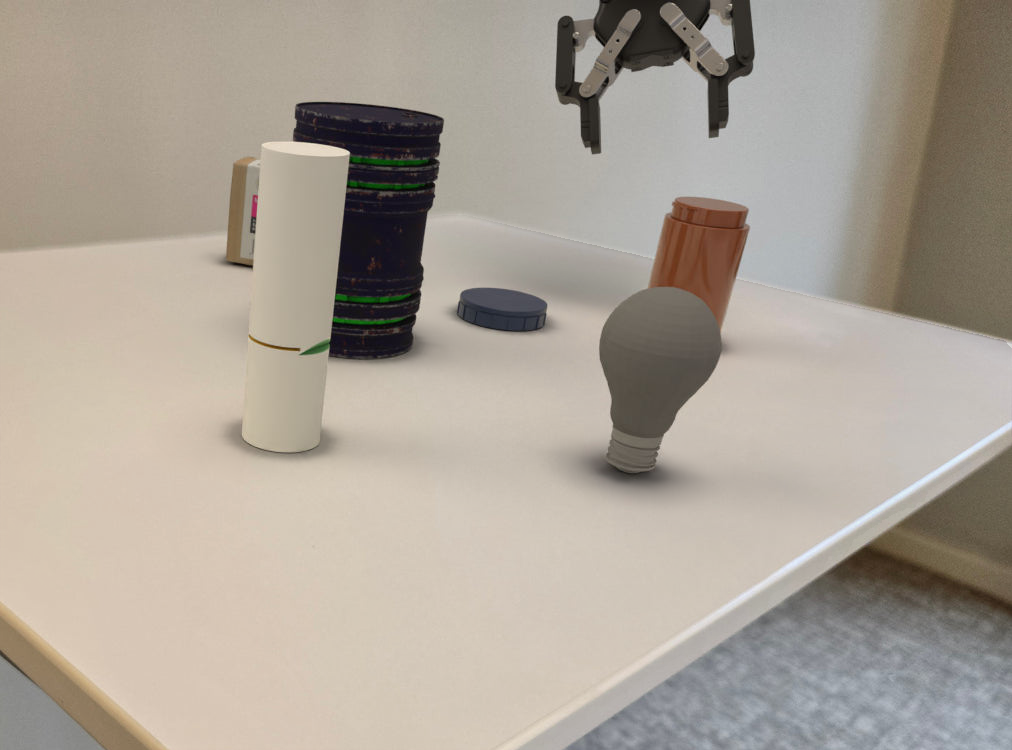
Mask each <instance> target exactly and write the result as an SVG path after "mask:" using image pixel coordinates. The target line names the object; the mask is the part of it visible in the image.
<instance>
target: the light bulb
mask: <svg viewBox="0 0 1012 750" xmlns="http://www.w3.org/2000/svg"><path fill="white" fill-rule="evenodd" d="M722 345H723V344H722V332H721V333H720V329H719V325H718V323H717V320H716V318H715V316H714V315H713V313H712V311H711V310H710V308H709V307H708V306H707V305H706V304H705V302H704V301H703V300H701V299H700V298H698V297H697V296H695V295H694V294H692V293H690V292H687V291H685V290H682V289H679V288H674V287H653V288H649V289H647V288H646V289H641V290H639V291H638V292H636V293H633V294H632V295H630V296H628V298H626V299H625V300H622V302H621V303H620V304H619V305H618V306H617V307H615V308H614V310H613V311H612V312H611V313H610V314H609V315H608V318H607V319H606V320H605V322H604V323H603V326H602V329H601V334H600V338H599V347H598V353H599V362H600V365H601V368H602V371H603V376H604V378H605V380H606V384H607V386H608V391H609V395H610V399H611V403H610V410H609V411H610V412H609V416H610V420H611V423H612V431H611V434H610V440H609V443H608V444H609V446H608V447H607V453H606V456H605V460H606V461H607V462H608V463H609V464H610V465H612V466H614V467H615V468H616V469H618V470H619V471H621V472H623V473H627V474H639V473H640V472H649V471H652V470H654V469H655V468H656V463H657V459H656V458H657V457H658V456H659V453H658V451H660V449H661V445H662V441H663V438H664V436H665V434H666V433H667V432H668V431H669V430H670V429H671V427H672V426H673V424H674V422H675V420H676V417H677V414H678V412H679V411H680V410H681V409H682V408H683V407H684V405H685V404H686V403H687V402H688V401H689V400H690V399H691V398H692V397H693V396H694V395H695V394H696V393H698V391H699V390H700V389H701V388H702V387H703V386H704V385H705V384H706V383H707V382H708V381H709V379H710V378H711V376H713V375H712V374H713V373H714V372H715V369H716V368H717V366H718V363H719V361H720V358H721V354H722V348H723V347H722Z"/></svg>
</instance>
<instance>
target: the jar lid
mask: <svg viewBox="0 0 1012 750" xmlns="http://www.w3.org/2000/svg"><path fill="white" fill-rule="evenodd" d="M547 311H548V303H547V301H546V300H544V299H542V298H540V297H538V296H536V295H533V294H531V293H528V292H527V293H526V292H523V291H519V290H513V289H507V288H501V287H472V288H466V289H464V290H462V291H461V292H460V294H459V300H458V302H457V308H456V314H457V315H458V316H459V317H460V318H461V319H463V320H464V321H467V322H468V323H471V324H474V325H476V326H481V327H485V328H489V329H494V330H502V331H512V332H527V331H533V330H538V329H541V328H542V327H544V326H545V324H546V319H547V315H548V313H547Z"/></svg>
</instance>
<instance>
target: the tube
mask: <svg viewBox="0 0 1012 750" xmlns="http://www.w3.org/2000/svg"><path fill="white" fill-rule="evenodd" d="M349 157H350V152H349V151H347V150H345V149H342V148H338V147H333V146H328V145H322V144H314V143H304V142H293V141H268V142H263V143H262V144H261V148H260V159H261V160H260V174H259V189H258V204H257V218H256V233H255V248H254V262H253V265H252V280H251V292H250V293H251V294H250V308H249V309H250V310H249V320H248V321H249V322H248V337H247V351H246V352H247V353H246V364H245V365H246V367H245V379H244V381H245V382H244V394H243V396H244V397H243V410H242V423H241V424H242V426H241V438H242V439H243V440H244V441H245V442H246V443H247V444H250V445H251V446H253V447H255V448H258V449H262V450H264V451H269V452H275V453H301V452H306V451H309V450H312V449H315V448H316V447H317V446H318V445H319V444H320V442H321V431H322V424H323V423H322V422H323V415H324V414H323V413H324V403H325V394H326V386H327V385H326V383H327V375H328V374H327V373H328V364H329V357H330V356H329V347H330V345H329V342H330V338H331V328H332V319H333V310H334V300H335V291H336V281H337V271H338V262H339V252H340V243H341V233H342V224H343V214H344V204H345V195H346V185H347V176H348V166H349Z"/></svg>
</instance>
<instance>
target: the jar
mask: <svg viewBox="0 0 1012 750" xmlns="http://www.w3.org/2000/svg"><path fill="white" fill-rule="evenodd" d="M671 206H672V208H671V211H670V212H667V213H665V214H664V218H663V221H662V222H663V223H662V225H661V231H660V235H659V238H658V244H657V246H656V250H655V255H654V260H653V262H652V263H653V264H652V268H651V271H650V276H649V281H648V283H647V288H646V289H649V288H653V287H674V288H679V289H682V290H685V291H687V292H690V293H692V294H694V295H695V296H697V297H698V298H700V299H701V300H703V301H704V302H705V304H706V305H707V306H708V307H709V308H710V310H711V311H712V313H713V315H714V316H715V318H716V320H717V323H718V325H719V329H720V333H721V334H722V331H723V326H724V323H725V320H726V316H727V312H728V309H729V305H730V301H731V297H732V295H733V290H734V287H735V285H736V283H735V282H736V280H737V276H738V272H739V269H740V266H741V262H742V258H743V254H744V251H745V247H746V244H747V241H748V237H749V234H750V230H751V226H750V225H749V224H748V223H746V222H747V218H748V214H749V211H750V208H749V207H748V206H746V205H743V204H740V203H737V202H732V201H729V200H723V199H717V198H710V197H703V196H702V197H701V196H678V197H675V198H674V200H673V201H672V202H671Z"/></svg>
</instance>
